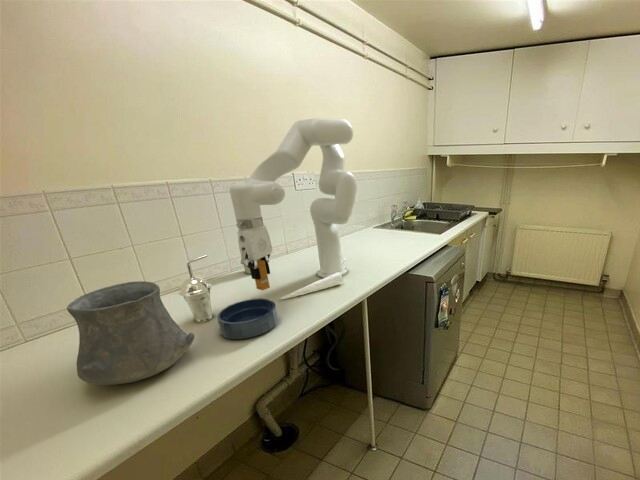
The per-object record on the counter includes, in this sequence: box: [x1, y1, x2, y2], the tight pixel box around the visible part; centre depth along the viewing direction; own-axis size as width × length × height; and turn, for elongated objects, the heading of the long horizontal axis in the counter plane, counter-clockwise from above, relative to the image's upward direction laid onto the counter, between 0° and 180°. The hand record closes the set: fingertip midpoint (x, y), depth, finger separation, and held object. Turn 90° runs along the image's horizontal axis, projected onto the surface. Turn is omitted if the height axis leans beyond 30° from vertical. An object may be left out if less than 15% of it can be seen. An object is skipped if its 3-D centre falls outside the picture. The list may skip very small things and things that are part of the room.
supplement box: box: [252, 260, 271, 291], centre depth 106 cm, size 3×3×10 cm
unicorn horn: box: [279, 272, 344, 301], centre depth 116 cm, size 5×24×5 cm, turn 126°
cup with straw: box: [178, 254, 213, 323], centre depth 95 cm, size 8×9×20 cm
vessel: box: [66, 280, 195, 386], centre depth 72 cm, size 22×22×20 cm
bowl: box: [216, 298, 279, 340], centre depth 92 cm, size 15×15×6 cm
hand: (261, 275), depth 106 cm, fingers closed on supplement box, 4 cm apart
